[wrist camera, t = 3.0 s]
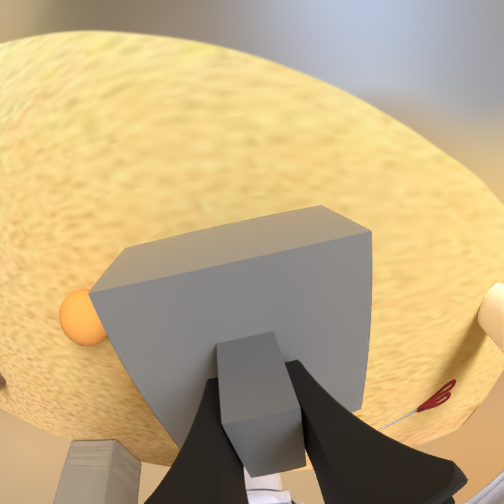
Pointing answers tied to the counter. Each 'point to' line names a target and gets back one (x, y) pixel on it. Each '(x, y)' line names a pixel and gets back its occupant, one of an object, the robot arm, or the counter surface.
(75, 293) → the ball
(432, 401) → the scissors
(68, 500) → the skincare box
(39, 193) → the counter surface
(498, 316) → the foam cup
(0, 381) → the stopper
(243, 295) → the grey stemmed block
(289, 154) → the counter surface
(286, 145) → the counter surface
